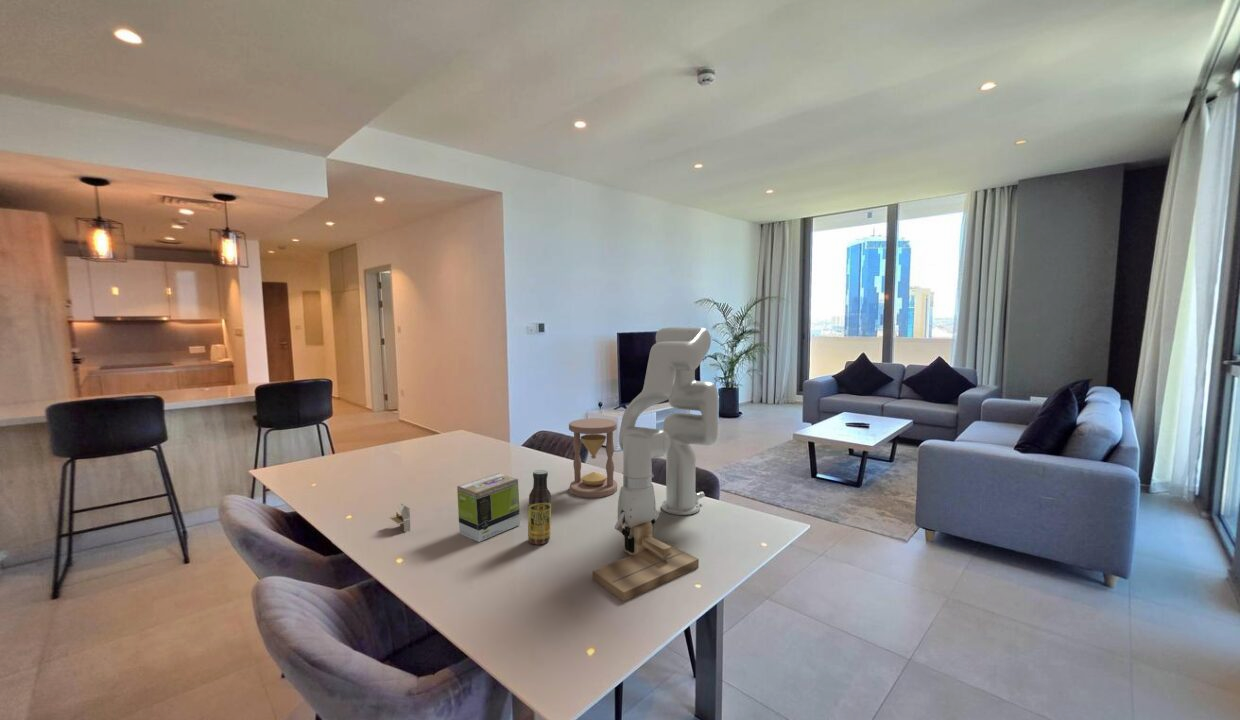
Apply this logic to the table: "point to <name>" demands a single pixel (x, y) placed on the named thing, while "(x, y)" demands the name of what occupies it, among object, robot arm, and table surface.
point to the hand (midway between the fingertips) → (637, 547)
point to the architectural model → (402, 518)
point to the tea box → (488, 506)
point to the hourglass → (593, 482)
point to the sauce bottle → (539, 509)
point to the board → (643, 571)
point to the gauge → (647, 541)
